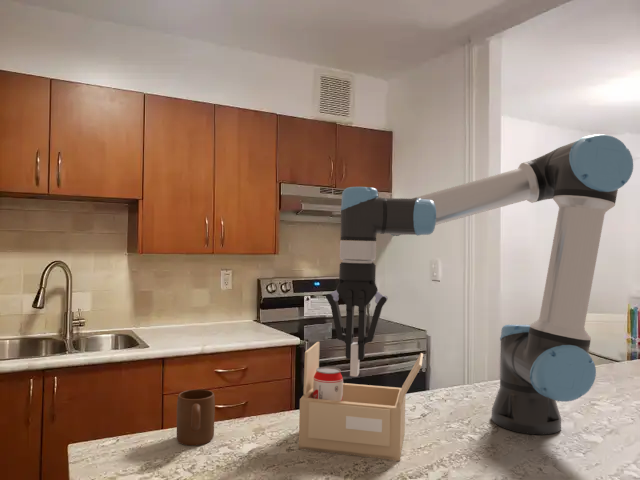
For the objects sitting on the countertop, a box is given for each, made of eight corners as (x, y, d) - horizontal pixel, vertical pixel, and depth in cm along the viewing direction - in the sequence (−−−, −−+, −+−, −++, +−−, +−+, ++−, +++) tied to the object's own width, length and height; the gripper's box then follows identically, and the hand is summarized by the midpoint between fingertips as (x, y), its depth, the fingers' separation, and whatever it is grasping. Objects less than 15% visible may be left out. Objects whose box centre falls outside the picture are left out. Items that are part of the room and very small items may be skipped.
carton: (404, 433, 112) (405, 387, 112) (399, 462, 98) (400, 409, 98) (315, 424, 117) (316, 380, 117) (298, 450, 102) (299, 400, 102)
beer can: (342, 442, 110) (344, 367, 110) (339, 453, 104) (342, 374, 104) (313, 439, 111) (315, 365, 111) (308, 451, 105) (311, 372, 105)
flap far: (305, 394, 104) (303, 393, 104) (318, 379, 115) (316, 379, 115) (307, 352, 104) (304, 351, 104) (319, 341, 115) (317, 341, 115)
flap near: (402, 386, 111) (404, 387, 110) (398, 402, 100) (400, 403, 100) (421, 352, 110) (423, 353, 110) (419, 364, 99) (421, 365, 99)
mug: (215, 454, 100) (216, 405, 100) (174, 457, 98) (175, 407, 98) (213, 431, 111) (214, 388, 111) (177, 433, 110) (177, 389, 110)
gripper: (390, 262, 109) (387, 372, 109) (330, 260, 112) (327, 367, 112) (387, 263, 102) (384, 382, 102) (323, 261, 105) (320, 376, 105)
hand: (354, 374), depth 107 cm, fingers closed
